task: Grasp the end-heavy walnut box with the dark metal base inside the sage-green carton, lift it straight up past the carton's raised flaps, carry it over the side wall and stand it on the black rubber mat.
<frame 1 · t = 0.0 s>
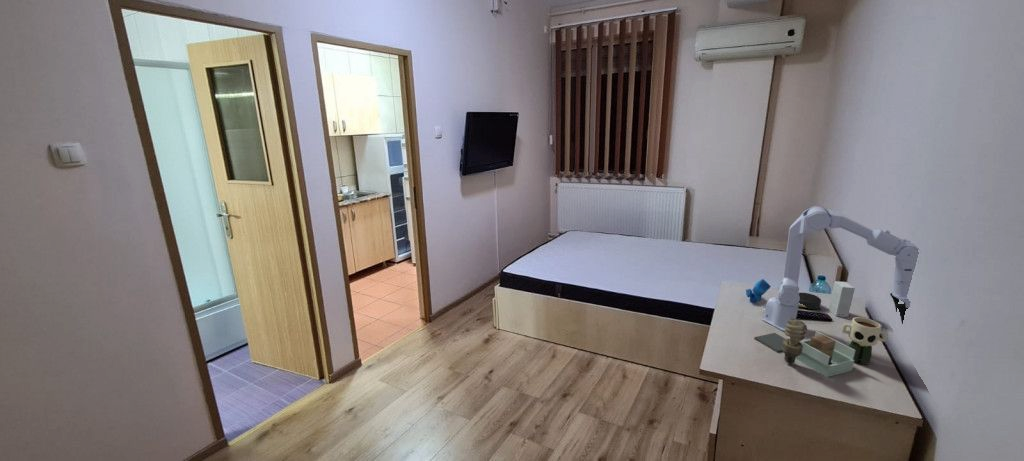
hand: (904, 320, 137), 11 cm above the table, tool pointing down, fingers open, 7 cm apart
character mug: (857, 360, 135), on the table
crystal: (755, 300, 176), on the table
smart speaker: (805, 306, 171), on the table
carton: (818, 361, 134), on the table
mat: (775, 343, 144), on the table
walnut box: (818, 361, 134), resting in carton
skincare box: (837, 313, 164), on the table
light bulb: (788, 364, 133), on the table
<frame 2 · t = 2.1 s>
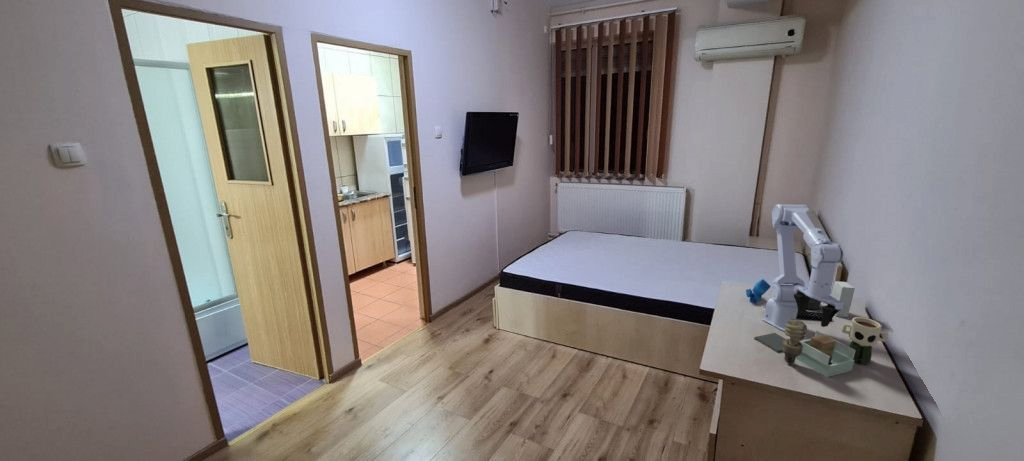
hand: (812, 320, 138), 10 cm above the table, tool pointing down, fingers open, 7 cm apart
nothing on the table moved.
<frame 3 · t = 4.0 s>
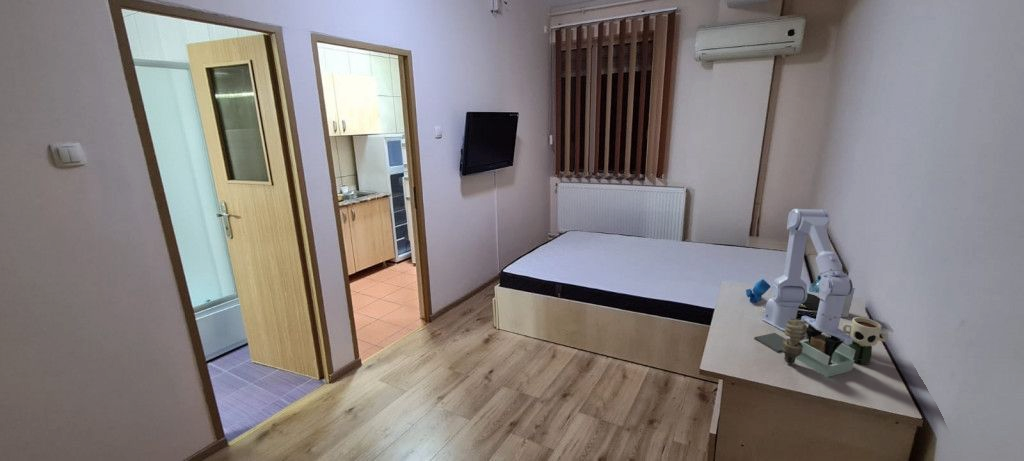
hand: (820, 353, 133), 3 cm above the table, tool pointing down, fingers closed on walnut box, 4 cm apart
walnut box: (818, 361, 134), resting in carton, touching gripper
everything else where it was.
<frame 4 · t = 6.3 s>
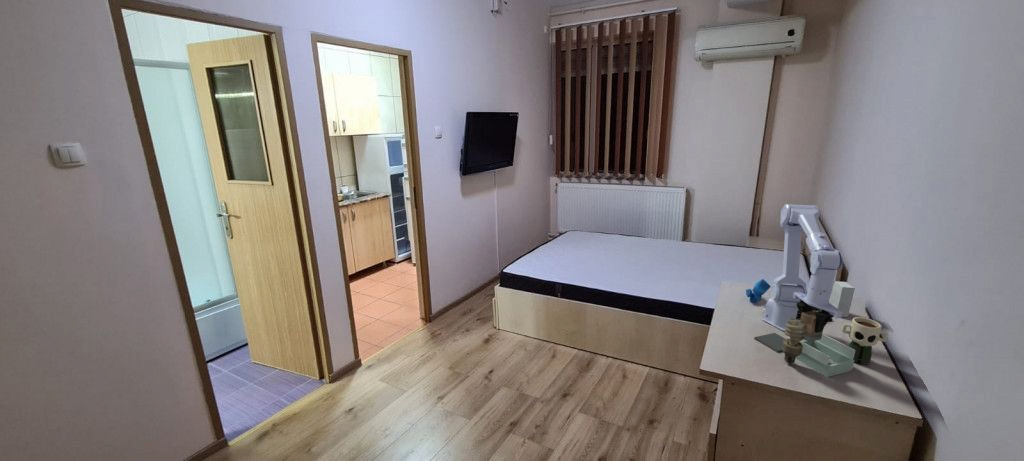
hand: (811, 328, 134), 10 cm above the table, tool pointing down, fingers closed on walnut box, 4 cm apart
walnut box: (808, 337, 135), point 7 cm above the table, touching gripper
everything else where it was.
when the fingers open (4 cm above the table, at t = 8.7 s): walnut box stays where it is, resting on mat.
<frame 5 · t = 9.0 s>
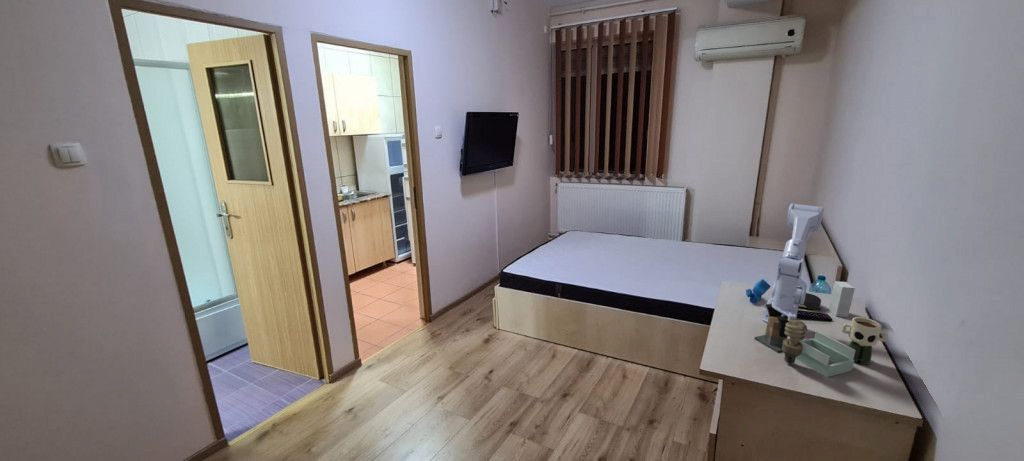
hand: (778, 331, 143), 4 cm above the table, tool pointing down, fingers open, 7 cm apart
walnut box: (775, 341, 144), point 1 cm above the table, touching mat
everything else where it was.
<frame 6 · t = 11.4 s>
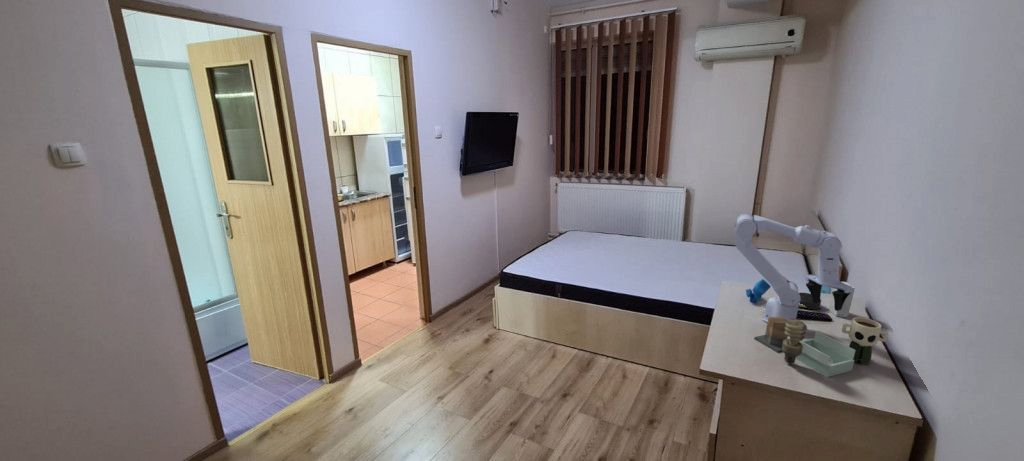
hand: (827, 306, 148), 10 cm above the table, tool pointing down, fingers open, 7 cm apart
nothing on the table moved.
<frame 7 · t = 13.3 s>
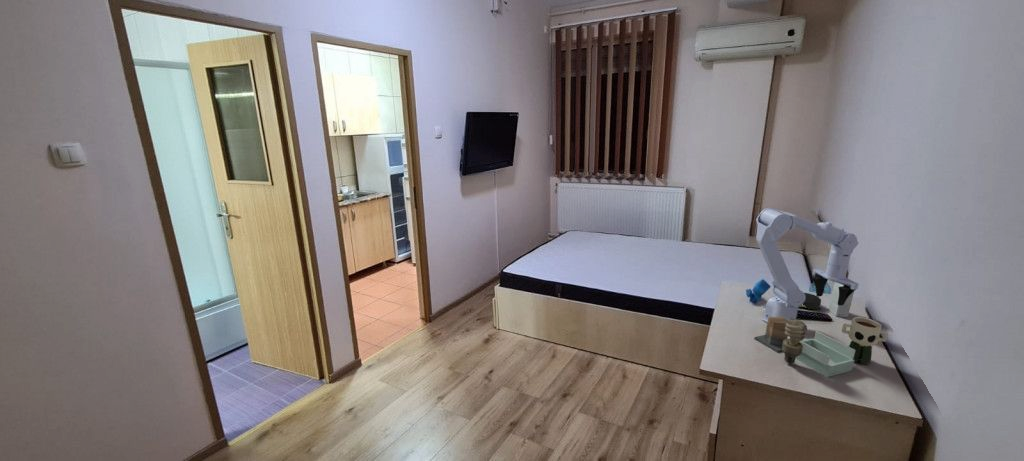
hand: (829, 300, 153), 10 cm above the table, tool pointing down, fingers open, 7 cm apart
nothing on the table moved.
at the end: walnut box 0.3 cm off-centre on the mat, point 0.6 cm above the mat's base; walnut box tilted 0°; the gripper is holding nothing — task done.
